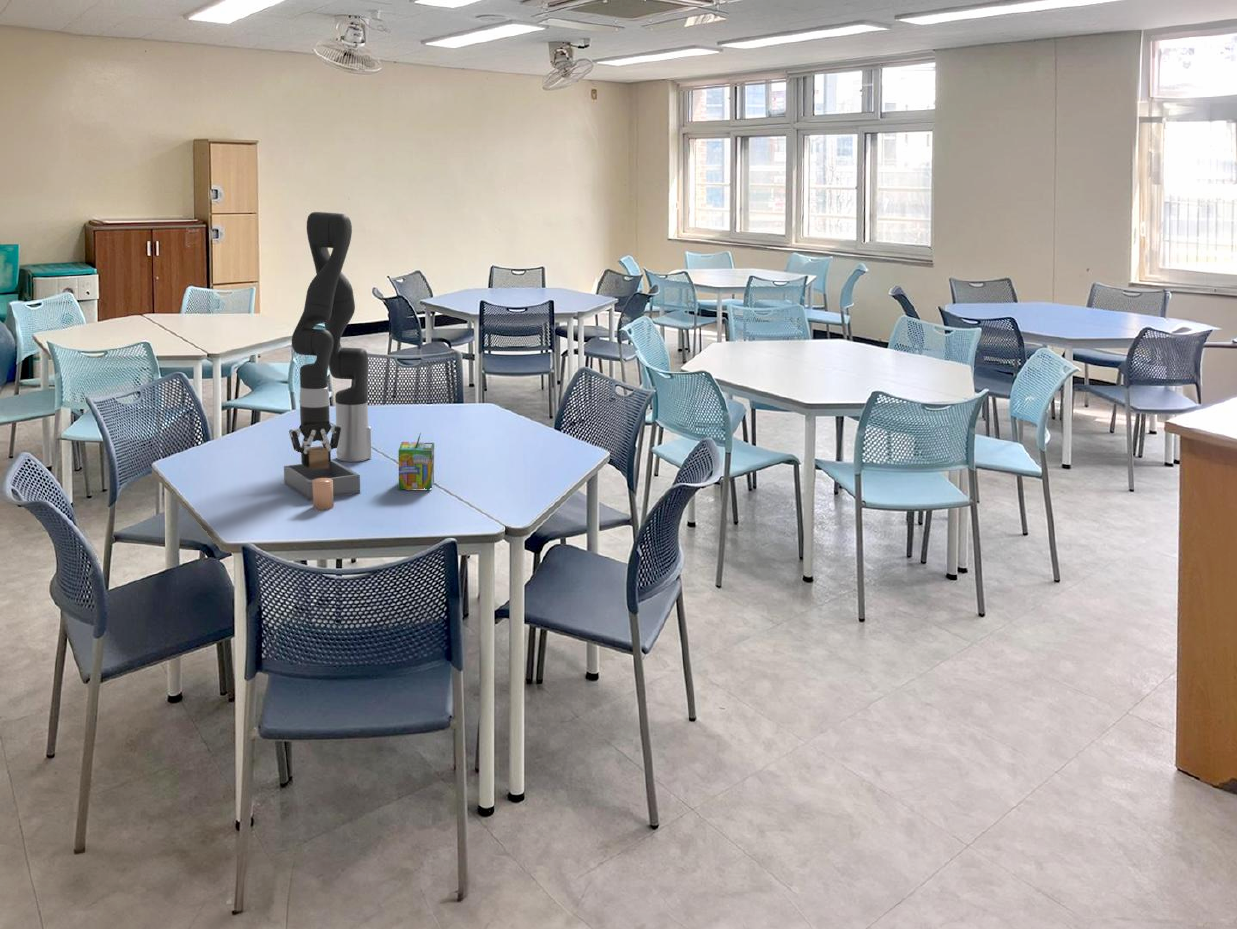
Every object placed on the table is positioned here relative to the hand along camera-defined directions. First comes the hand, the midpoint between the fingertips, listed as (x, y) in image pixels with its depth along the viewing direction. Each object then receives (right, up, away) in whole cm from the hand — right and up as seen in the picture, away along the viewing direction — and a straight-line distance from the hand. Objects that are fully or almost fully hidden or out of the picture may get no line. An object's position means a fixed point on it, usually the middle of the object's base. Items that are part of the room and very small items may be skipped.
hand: (316, 465), depth 288 cm
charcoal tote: (+2, -6, -1) cm, 7 cm away
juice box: (+26, -6, +5) cm, 27 cm away
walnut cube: (0, 0, 0) cm, 0 cm away
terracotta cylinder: (+7, -11, -17) cm, 21 cm away
